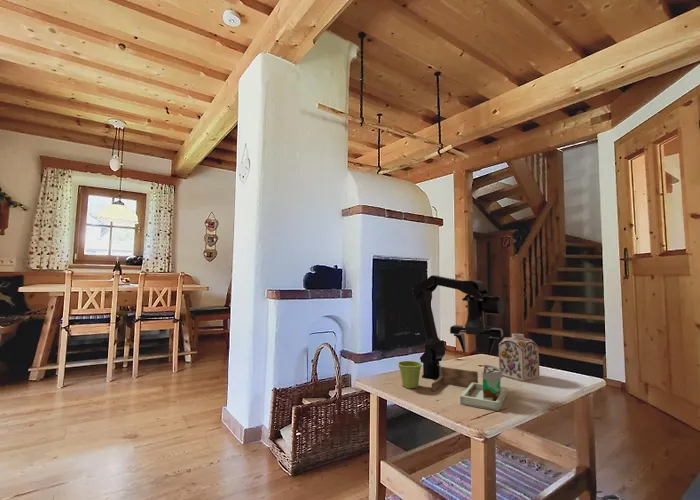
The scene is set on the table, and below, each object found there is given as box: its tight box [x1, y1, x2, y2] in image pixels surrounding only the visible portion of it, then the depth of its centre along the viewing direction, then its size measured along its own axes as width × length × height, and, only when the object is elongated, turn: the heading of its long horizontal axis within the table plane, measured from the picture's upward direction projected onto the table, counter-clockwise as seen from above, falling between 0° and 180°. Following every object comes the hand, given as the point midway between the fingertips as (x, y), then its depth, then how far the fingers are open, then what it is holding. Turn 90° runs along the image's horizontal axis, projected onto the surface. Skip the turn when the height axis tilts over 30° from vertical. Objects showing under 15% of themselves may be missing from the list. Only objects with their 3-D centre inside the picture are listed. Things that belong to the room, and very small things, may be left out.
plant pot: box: [397, 360, 423, 389], centre depth 135 cm, size 9×9×9 cm
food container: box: [482, 364, 504, 401], centre depth 120 cm, size 12×6×10 cm, turn 156°
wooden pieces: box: [431, 366, 479, 396], centre depth 131 cm, size 14×13×6 cm
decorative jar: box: [498, 333, 541, 383], centre depth 149 cm, size 12×12×18 cm
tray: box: [459, 382, 508, 412], centre depth 121 cm, size 12×18×3 cm, turn 149°
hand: (476, 353), depth 133 cm, fingers open, 9 cm apart
